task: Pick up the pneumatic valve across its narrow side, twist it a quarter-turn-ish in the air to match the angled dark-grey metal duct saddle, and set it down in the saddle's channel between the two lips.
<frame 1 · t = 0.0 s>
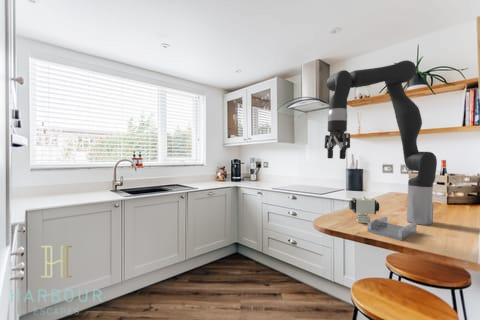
hand: (336, 158, 100), 29 cm above the breakfast bar, fingers open, 8 cm apart
duct saddle: (391, 232, 96), on the breakfast bar
pneumatic valve: (362, 222, 109), on the breakfast bar
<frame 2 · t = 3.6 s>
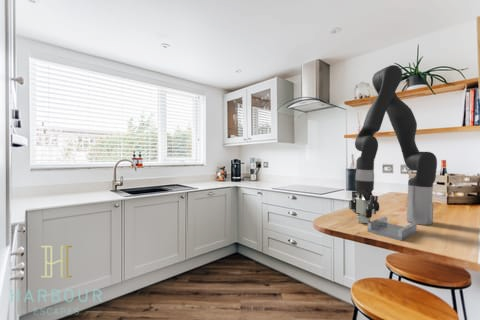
hand: (363, 215, 109), 3 cm above the breakfast bar, fingers closed on pneumatic valve, 6 cm apart
pneumatic valve: (362, 222, 109), on the breakfast bar, touching gripper
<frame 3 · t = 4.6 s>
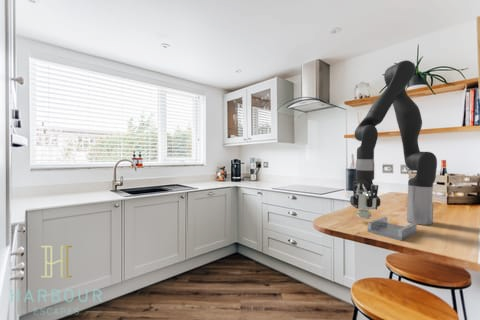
hand: (364, 205, 109), 8 cm above the breakfast bar, fingers closed on pneumatic valve, 5 cm apart
pneumatic valve: (363, 217, 110), point 2 cm above the breakfast bar, touching gripper
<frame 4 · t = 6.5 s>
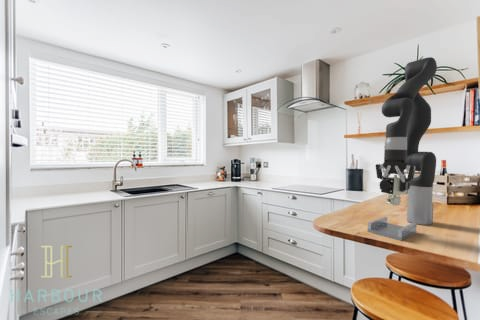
hand: (393, 190, 96), 17 cm above the breakfast bar, fingers closed on pneumatic valve, 5 cm apart
pneumatic valve: (392, 204, 96), point 11 cm above the breakfast bar, touching gripper
when the fingers open (7 cm above the breakfast bar, at t = 8.2 s): pneumatic valve stays where it is, resting on duct saddle.
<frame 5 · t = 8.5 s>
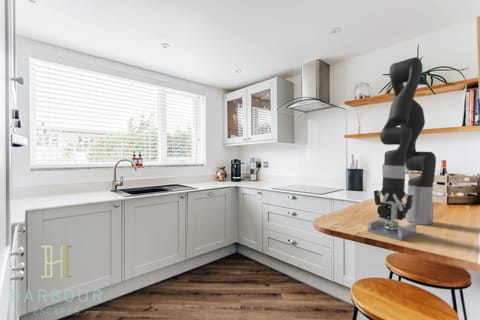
hand: (391, 217, 96), 6 cm above the breakfast bar, fingers open, 5 cm apart
pneumatic valve: (390, 229, 96), point 1 cm above the breakfast bar, touching duct saddle, gripper
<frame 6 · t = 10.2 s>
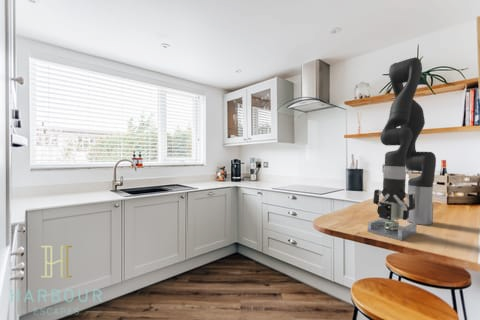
hand: (392, 217, 96), 6 cm above the breakfast bar, fingers open, 8 cm apart
pneumatic valve: (390, 229, 96), point 1 cm above the breakfast bar, touching duct saddle
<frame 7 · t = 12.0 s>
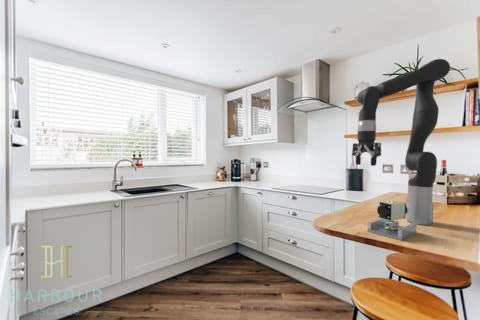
hand: (365, 165, 112), 26 cm above the breakfast bar, fingers open, 8 cm apart
nothing on the breakfast bar moved.
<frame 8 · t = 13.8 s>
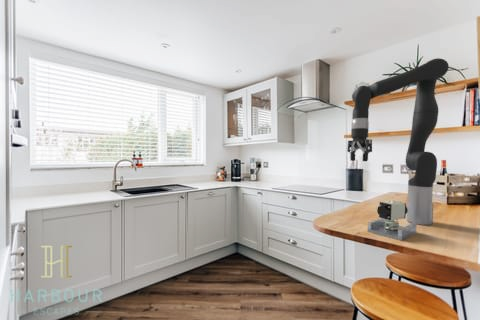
hand: (358, 161, 117), 28 cm above the breakfast bar, fingers open, 8 cm apart
nothing on the breakfast bar moved.
at the end: pneumatic valve 0.5 cm from the duct saddle (horizontally); pneumatic valve point 1.0 cm above the breakfast bar; pneumatic valve tilted 0° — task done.
